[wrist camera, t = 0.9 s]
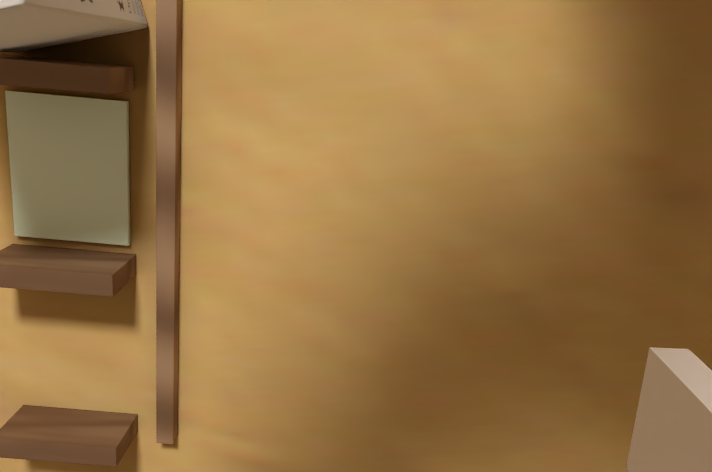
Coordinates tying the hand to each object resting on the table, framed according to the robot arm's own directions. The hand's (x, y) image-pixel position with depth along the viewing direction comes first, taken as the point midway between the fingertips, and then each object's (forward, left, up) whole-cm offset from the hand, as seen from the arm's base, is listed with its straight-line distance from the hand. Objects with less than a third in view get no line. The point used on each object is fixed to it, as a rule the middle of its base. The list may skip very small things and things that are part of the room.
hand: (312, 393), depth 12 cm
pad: (+1, -15, -23) cm, 27 cm away
